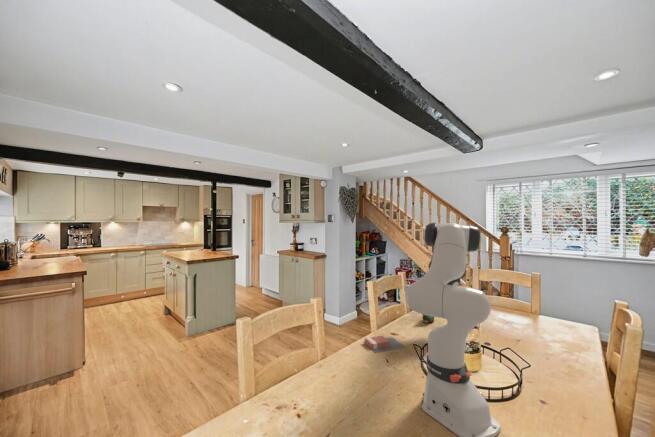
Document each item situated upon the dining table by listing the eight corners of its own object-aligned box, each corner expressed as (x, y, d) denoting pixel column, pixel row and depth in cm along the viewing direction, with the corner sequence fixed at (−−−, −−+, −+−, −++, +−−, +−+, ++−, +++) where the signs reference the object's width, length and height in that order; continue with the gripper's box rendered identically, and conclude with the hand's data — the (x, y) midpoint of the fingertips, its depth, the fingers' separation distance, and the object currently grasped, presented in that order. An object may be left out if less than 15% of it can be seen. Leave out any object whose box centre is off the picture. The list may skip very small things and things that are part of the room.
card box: (389, 341, 128) (371, 344, 124) (389, 346, 128) (371, 349, 124) (382, 335, 134) (364, 338, 131) (382, 340, 134) (364, 343, 131)
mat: (406, 347, 127) (406, 347, 127) (375, 353, 121) (375, 352, 121) (392, 338, 138) (392, 337, 138) (363, 342, 132) (363, 342, 132)
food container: (432, 326, 155) (432, 308, 155) (422, 323, 158) (421, 306, 159) (438, 320, 164) (438, 303, 165) (428, 318, 168) (428, 302, 168)
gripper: (416, 281, 151) (396, 282, 146) (443, 288, 132) (421, 290, 127) (416, 292, 151) (396, 294, 146) (443, 301, 131) (421, 304, 127)
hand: (407, 292), depth 136 cm, fingers closed
